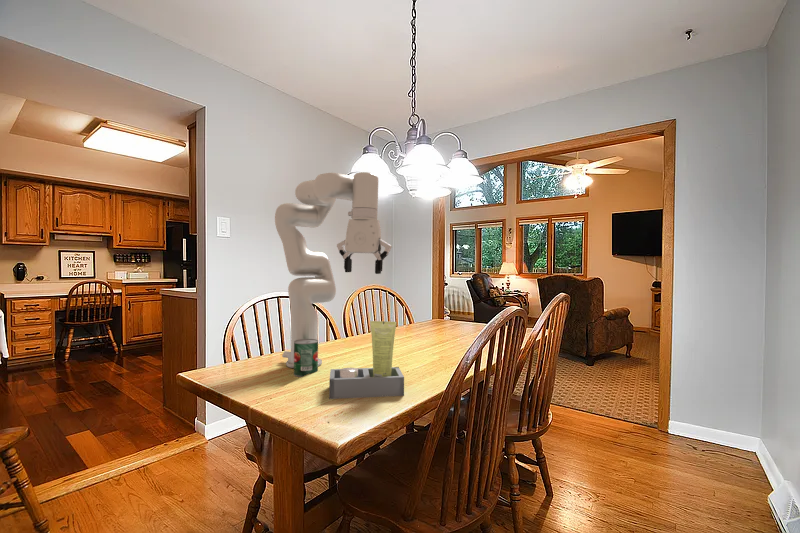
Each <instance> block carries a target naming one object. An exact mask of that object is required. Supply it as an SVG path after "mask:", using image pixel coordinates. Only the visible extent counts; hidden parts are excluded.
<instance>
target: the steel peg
mask: <svg viewBox="0 0 800 533" xmlns="http://www.w3.org/2000/svg"><path fill="white" fill-rule="evenodd" d="M356 368H357V367H343V368H340V369H341V370H340V378H358V369H356Z"/></svg>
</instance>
